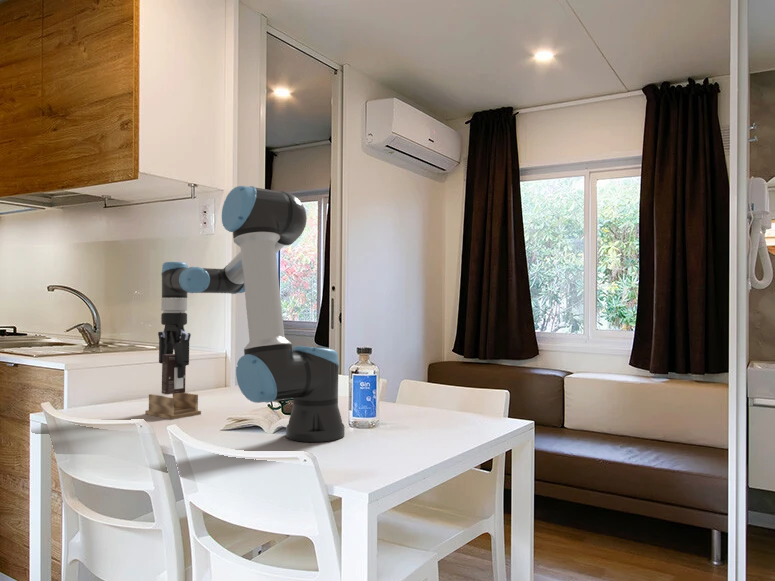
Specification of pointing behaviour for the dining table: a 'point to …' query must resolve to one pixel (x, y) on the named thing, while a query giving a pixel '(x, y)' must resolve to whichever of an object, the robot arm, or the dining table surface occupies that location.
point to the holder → (173, 405)
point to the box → (170, 375)
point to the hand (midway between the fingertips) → (173, 387)
